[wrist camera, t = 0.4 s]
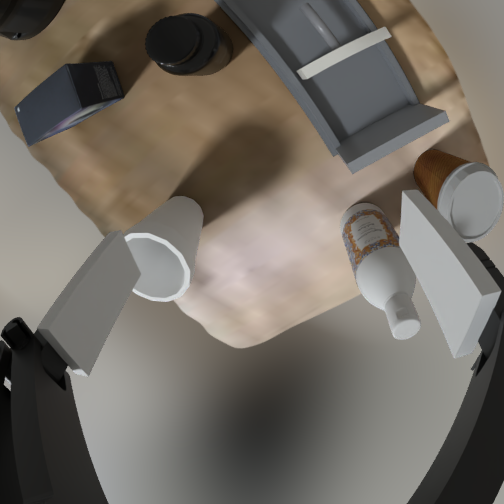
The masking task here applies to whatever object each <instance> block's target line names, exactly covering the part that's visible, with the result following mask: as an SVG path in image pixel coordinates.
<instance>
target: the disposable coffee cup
mask: <svg viewBox="0 0 504 504" xmlns="http://www.w3.org/2000/svg"><path fill="white" fill-rule="evenodd" d="M414 177H415V181H416V183H417V185H418V186H419V187H420V189H421V190H422V192H423V193H424V195H425V196H426V198H427V199H428V201H429V202H430V203H431V204H432V205H433V206H434V207H435V208H436V209H437V210H438V211H439V213H440V214H441V215H442V216H443V217H444V218H445V219H446V220H447V221H448V223H449V224H450V225H451V226H452V227H453V228H454V229H455V231H456V232H457V233H458V234H459V235H460V236H461V238H462V239H463V240H464V241H465V242H474V241H477V240H480V239H482V238H483V237H485V236H486V235H487V234H488V233H489V232H490V231H491V230H492V229H493V228H494V226H495V225H496V224H497V222H498V220H499V218H500V215H501V212H502V209H503V201H504V197H503V196H504V194H503V189H502V186H501V183H500V182H499V181H498V178H497V176H496V174H495V172H494V171H493V170H492V169H491V168H490V167H488V166H487V165H485V164H483V163H478V162H469V161H466V160H464V159H461V158H458V157H456V156H453V155H450V154H447V153H444V152H441V151H439V150H429V151H426V152H424V153H423V154H422V155H421V156H420V157H419V158H418V159H417V161H416V164H415V167H414Z"/></svg>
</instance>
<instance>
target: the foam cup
mask: <svg viewBox="0 0 504 504" xmlns="http://www.w3.org/2000/svg"><path fill="white" fill-rule="evenodd" d="M203 217H204V215H203V212H202V210H201V207H200V206H199V205H198V204H197V203H196V202H195V201H194V200H193V199H191V198H188V197H186V196H174V197H173V198H171V199H169V200H168V201H166V202H165V203H163V204H162V205H161V206H159V207H158V208H157V209H156V210H154V211H153V212H152V213H150V214H149V215H148V216H147V217H145V218H144V219H143V220H142V221H140V222H139V223H138V224H136V225H134V226H133V227H131V228H130V229H128V230H127V231H126V232H125V233H124V234H123V236H124V238H125V240H126V242H127V245H128V247H129V249H130V251H131V253H132V256H133V258H134V260H135V262H136V264H137V266H138V268H139V270H140V272H141V276H140V277H139V279H138V281H137V283H136V284H135V286H134V288H133V290H132V291H133V292H134V293H135V294H137V295H140V296H142V297H144V298H147V299H149V300H152V301H166V302H168V301H171V300H174V299H176V298H179V297H181V296H182V295H183V294H184V292H185V291H186V290H187V289H188V287H189V286H190V283H191V281H192V278H193V276H194V273H195V260H196V255H197V250H198V245H199V240H200V235H201V230H202V225H203Z"/></svg>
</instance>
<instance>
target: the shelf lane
mask: <svg viewBox="0 0 504 504" xmlns="http://www.w3.org/2000/svg"><path fill="white" fill-rule="evenodd" d="M214 1H215V2H216V3H217V4H218V5H219V6H220V7H221V8H222V9H223V10H224V11H225V12H226V13H227V14H228V16H229V17H230V18H231V19H232V20H233V21H234V22H235V23H236V24H237V26H238V27H239V28H240V29H241V30H242V31H243V32H244V34H245V35H246V36H247V37H248V38H249V39H250V41H251V42H252V43H253V44H254V45H255V47H256V48H257V49H258V50H259V51H260V53H261V54H262V55H263V56H264V58H265V59H266V60H267V61H268V63H269V64H270V65H271V67H272V68H273V69H274V70H275V72H276V73H277V74H278V76H279V77H280V78H281V80H282V81H283V82H284V84H285V85H286V86H287V88H288V89H289V91H290V92H291V93H292V95H293V96H294V98H295V99H296V100H297V102H298V103H299V105H300V106H301V108H302V109H303V110H304V112H305V113H306V115H307V116H308V118H309V119H310V121H311V122H312V124H313V125H314V127H315V128H316V130H317V132H318V133H319V135H320V136H321V138H322V139H323V141H324V143H325V144H326V146H327V147H328V149H329V151H330V152H331V154H332V155H333V157H334V156H335V155H337V154H338V155H339V156H340V157H341V159H342V160H343V162H344V163H345V164H346V166H347V167H348V169H349V170H350V171H351V173H352V174H354V173H355V172H357V171H359V170H361V169H363V168H364V167H366V166H368V165H370V164H372V163H373V162H375V161H377V160H379V159H381V158H383V157H384V156H386V155H388V154H390V153H392V152H393V151H395V150H397V149H399V148H401V147H403V146H404V145H406V144H408V143H410V142H412V141H414V140H416V139H417V138H419V137H421V136H423V135H425V134H427V133H429V132H430V131H432V130H434V129H436V128H438V127H440V126H442V125H443V124H445V123H447V122H449V119H448V116H447V114H446V111H444V110H441V109H437V108H434V107H430V106H427V105H423V104H420V103H419V100H418V98H417V96H416V94H415V92H414V90H413V88H412V86H411V84H410V83H409V81H408V79H407V77H406V75H405V73H404V71H403V70H402V68H401V66H400V64H399V63H398V61H397V59H396V57H395V56H394V54H393V52H392V51H391V49H390V48H389V46H388V44H387V43H386V41H385V40H383V41H381V42H379V43H376V44H374V45H372V46H370V47H368V48H366V49H364V50H362V51H359V52H357V53H355V54H353V55H351V56H349V57H347V58H345V59H343V60H342V61H340V62H338V63H336V64H334V65H332V66H330V67H328V68H326V69H325V70H323V71H321V72H319V73H317V74H316V75H314V76H312V77H310V78H309V79H301V77H300V76H299V74H298V73H297V72H296V71H298V70H299V69H301V68H303V67H304V66H306V65H308V64H310V63H311V62H313V61H315V60H317V59H319V58H321V57H322V56H324V55H326V54H328V53H330V52H332V49H331V48H330V47H329V45H328V44H327V43H326V41H325V40H324V38H323V37H322V36H321V34H320V33H319V32H318V31H317V29H316V28H315V27H314V25H313V24H312V23H311V22H310V20H309V19H308V18H307V17H306V16H305V14H304V13H303V12H302V11H301V10H300V8H299V7H300V6H302V5H303V4H305V3H309V4H310V5H311V6H312V7H313V9H314V10H315V11H316V12H317V14H318V15H319V16H320V17H321V19H322V20H323V21H324V22H325V24H326V25H327V26H328V28H329V29H330V30H331V32H332V33H333V34H334V36H335V37H336V38H337V40H338V41H339V42H340V44H341V45H342V46H344V45H346V44H348V43H350V42H352V41H354V40H356V39H358V38H360V37H362V36H365V35H367V34H369V33H371V32H373V31H376V30H378V29H377V28H376V26H375V25H374V23H373V22H372V20H371V19H370V18H369V16H368V15H367V13H366V12H365V11H364V9H363V8H362V7H361V5H360V4H359V3H358V2H357V0H214Z"/></svg>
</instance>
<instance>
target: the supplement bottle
mask: <svg viewBox="0 0 504 504" xmlns="http://www.w3.org/2000/svg"><path fill="white" fill-rule="evenodd" d="M145 45H146V50H147V54H149V57H150V58H152V60H154V61H155V62H156V63H157V65H158V66H159V67H160V68H161V69H163V70H164V71H166V72H168V73H170V74H173V75H179V76H203V75H210V74H214V73H216V72H218V71H220V70H221V69H223V68H224V67H225V66H226V65H227V64H228V62H229V61H230V59H231V56H232V53H233V44H232V40H231V38H230V36H229V35H228V34H227V33H226V32H225V31H224V30H223V29H222V28H220V27H219V26H218V25H216V24H215V23H214V22H212V21H211V20H209V19H208V18H206V17H204V16H202V15H199V14H195V13H184V14H179V15H176V16H169V17H165V18H164V19H160V20H159V21H158V22H156V23H155V25H153V26H152V28H151V29H150V30H149V33H148V34H147V38H146V43H145Z"/></svg>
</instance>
